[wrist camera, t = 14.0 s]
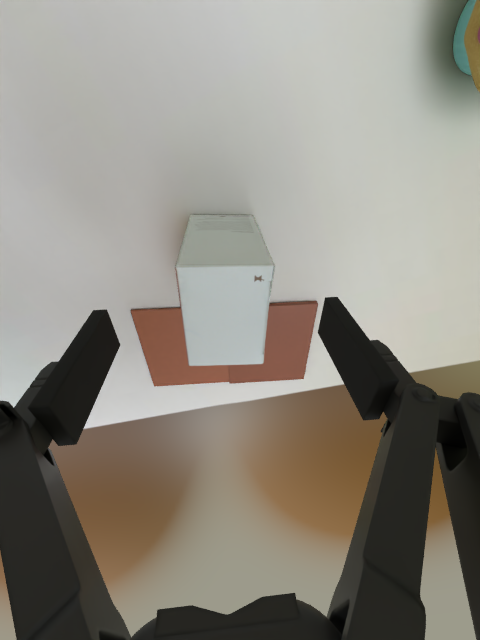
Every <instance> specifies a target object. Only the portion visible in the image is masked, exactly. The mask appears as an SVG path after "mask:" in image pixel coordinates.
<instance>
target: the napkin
mask: <svg viewBox="0 0 480 640" xmlns="http://www.w3.org/2000/svg"><path fill="white" fill-rule="evenodd" d="M317 307H318V303H317V301H308V302H287V303H269V310H268V319H267V329H266V338H265V348H264V363H263V364H248V365H211V366H189V365H188V359H187V352H186V344H185V337H184V330H183V322H182V315H181V308H161V309H140V310H131V314H132V317H133V321H134V324H135V327H136V330H137V333H138V336H139V340H140V343H141V346H142V349H143V352H144V355H145V359H146V362H147V365H148V368H149V371H150V374H151V378H152V381H153V384H154V386H168V385H184V384H200V383H216V382H230V383H245V382H261V381H277V380H294V379H304V374H305V369H306V364H307V358H308V353H309V348H310V343H311V338H312V332H313V327H314V322H315V317H316V312H317Z"/></svg>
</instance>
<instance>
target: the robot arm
mask: <svg viewBox="0 0 480 640" xmlns="http://www.w3.org/2000/svg"><path fill="white" fill-rule="evenodd" d="M318 334H319V336H320V338H321V339H322V341H323V343H324V345H325V347H326V349H327V351H328V353H329V355H330V357H331V359H332V361H333V363H334V365H335V366H336V368H337V370H338V372H339V374H340V376H341V378H342V380H343V382H344V384H345V386H346V388H347V390H348V392H349V393H350V395H351V397H352V399H353V401H354V403H355V405H356V407H357V409H358V411H359V413H360V415H361V417H362V419H363V420H374V419H379V418H380V416H381V414H382V412H384V413H385V415H386V417H387V418H388V419H387V421H386V423H385V424H384V426H383V428H382V430H381V432H382V437H381V440H380V443H379V447H378V451H377V454H376V457H375V461H374V464H373V468H372V471H371V475H370V478H369V482H368V485H367V488H366V492H365V495H364V499H363V502H362V506H361V509H360V513H359V516H358V520H357V523H356V527H355V530H354V534H353V537H352V540H351V544H350V547H349V551H348V554H347V558H346V561H345V565H344V568H343V572H342V575H341V577H340V580H339V582H338V585H337V587H336V589H335V592H334V595H333V598H332V601H331V604H330V608H329V611H328V614H327V617H326V616H324V615H323V614H322V613H321V612H320V611H318V610H317V609H315V608H314V607H312V606H311V605H309V604H306V603H304V602H303V601H299V600H296V596H295V593H290V594H282V595H274V596H266V597H261V598H259V599H257V600H256V601H254V602H252V603H250V604H248V605H246V606H244V607H243V608H241V609H239V610H237V611H235V612H233V613H231V614H228V615H225V614H221V613H217V612H214V611H210V610H207V609H203V608H199V607H196V606H184V607H175V608H167V609H160V610H158V611H157V617H156V618H155V619H153V620H151V621H150V622H148V623H147V624H146V625H144V626H143V627H142V628H141V629H140V630H138V631H137V632H136V633H135V634H134V635H133V636H132V637H131V636H130V634H129V631H128V629H127V627H126V625H125V623H124V620H123V619H122V617H121V615H120V613H119V612H118V610H117V609H116V607H115V606H114V604H113V602H112V600H111V598H110V595H109V593H108V590H107V588H106V585H105V583H104V581H103V578H102V575H101V573H100V570H99V568H98V565H97V563H96V561H95V558H94V555H93V553H92V551H91V548H90V546H89V543H88V541H87V538H86V536H85V533H84V531H83V528H82V526H81V523H80V521H79V519H78V516H77V513H76V511H75V508H74V506H73V504H72V501H71V499H70V496H69V494H68V491H67V489H66V486H65V484H64V481H63V479H62V476H61V474H60V471H59V469H58V467H57V464H56V462H55V459H54V457H53V454H52V452H51V450H50V449H49V448H48V447H49V445H50V443H51V441H52V439H53V440H54V441H55V442H56V443H57V445H58V446H63V445H74V444H77V442H78V440H79V437H80V435H81V433H82V431H83V428H84V426H85V424H86V422H87V419H88V417H89V415H90V412H91V410H92V408H93V406H94V403H95V401H96V399H97V397H98V394H99V392H100V390H101V387H102V385H103V383H104V381H105V378H106V376H107V374H108V372H109V369H110V367H111V365H112V362H113V360H114V358H115V356H116V353H117V351H118V349H119V347H120V343H119V340H118V338H117V335H116V332H115V330H114V327H113V325H112V322H111V319H110V317H109V314H108V312H107V310H93V312H92V313H91V315H90V316H89V318H88V319H87V321H86V322H85V323H84V325H83V326H82V328H81V329H80V331H79V332H78V334H77V335H76V337H75V338H74V340H73V341H72V343H71V344H70V346H69V347H68V349H67V350H66V352H65V353H64V355H63V356H62V357H61V359H60V360H59V362H51V363H50V364H48V365H47V366H46V367H45V368H43V369H42V370H41V371H40V373H39V374H38V376H37V377H36V378H35V381H33V382H32V384H31V385H30V388H28V389H27V391H26V392H25V393H24V395H23V396H22V398H21V399H20V400H19V402H18V403H17V404H16V406H15V407H14V408H13V407H12V405H11V404H10V403H9V402H7V401H0V550H1V556H2V562H3V567H4V573H5V578H6V584H7V589H8V594H9V600H10V605H11V611H12V616H13V621H14V627H15V633H16V637H17V640H425V639H424V638H425V629H426V614H425V607H424V605H423V603H422V601H421V598H420V585H421V575H422V566H423V558H424V549H425V540H426V530H427V521H428V512H429V503H430V494H431V485H432V476H433V466H434V457H435V448H436V450H437V455H438V459H439V464H440V469H441V473H442V478H443V483H444V488H445V492H446V497H447V501H448V507H449V511H450V516H451V521H452V526H453V530H454V535H455V540H456V545H457V549H458V554H459V559H460V564H461V568H462V573H463V578H464V582H465V587H466V592H467V596H468V601H469V606H470V611H471V616H472V620H473V625H474V630H475V634H476V639H477V640H480V395H479V394H476V393H463V394H462V395H461V397H460V398H459V399H453V398H449V397H443V396H438V395H437V394H436V392H434V391H433V390H432V389H431V388H429V387H427V386H425V385H422V384H419V383H416V382H415V380H414V379H413V378H412V377H411V376H410V374H409V373H408V372H407V371H406V369H405V368H404V367H403V366H402V364H401V363H400V362H399V361H398V359H397V358H396V357H395V356H394V355H393V353H392V352H391V351H390V349H389V348H388V347H387V346H386V345H384V344H383V343H381V342H380V341H379V340H371V341H370V340H369V339H368V337H367V336H366V335H365V333H364V332H363V331H362V329H361V328H360V327H359V325H358V324H357V323H356V321H355V320H354V319H353V317H352V316H351V315H350V313H349V312H348V311H347V309H346V308H345V307H344V305H343V304H342V303H341V301H340V300H339V299H338V297H328V298H325V301H324V306H323V311H322V315H321V320H320V325H319V330H318Z"/></svg>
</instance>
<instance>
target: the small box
mask: <svg viewBox="0 0 480 640" xmlns="http://www.w3.org/2000/svg"><path fill="white" fill-rule="evenodd" d="M274 269H275V265H274V262H273V260H272V258H271V256H270V253H269V251H268V249H267V246H266V244H265V241H264V239H263V237H262V234H261V232H260V230H259V227H258V225H257V223H256V221H255V218H254V216H253V215H190V218H189V221H188V225H187V228H186V232H185V235H184V238H183V242H182V245H181V249H180V252H179V256H178V259H177V262H176V265H175V270H176V278H177V285H178V292H179V300H180V307H181V315H182V322H183V330H184V337H185V344H186V352H187V359H188V365H189V366H211V365H248V364H263V363H264V348H265V338H266V329H267V319H268V310H269V302H270V294H271V286H272V281H273V275H274Z"/></svg>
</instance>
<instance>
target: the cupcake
mask: <svg viewBox="0 0 480 640" xmlns="http://www.w3.org/2000/svg"><path fill="white" fill-rule="evenodd" d="M453 53H454V59H455V62H456V64H457V66H458V67H459V69H460V70H461V71H462V72H464V73H466V74H468V75H472V77H473V81H474V83H475V86H476V88H477V90H478V91H479V92H480V0H468V2H467V4H466V6H465V7H464V9H463V11H462V14H461V16H460V18H459V21H458V24H457V27H456V31H455V35H454V42H453Z"/></svg>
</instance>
